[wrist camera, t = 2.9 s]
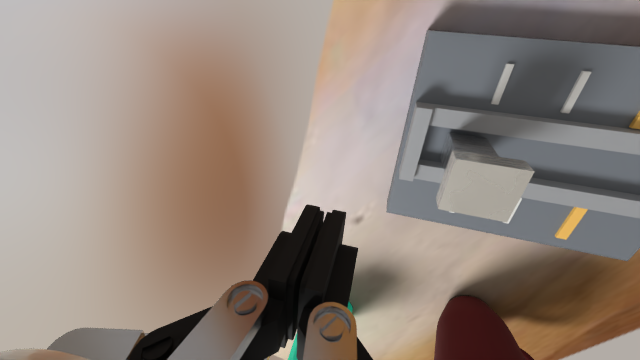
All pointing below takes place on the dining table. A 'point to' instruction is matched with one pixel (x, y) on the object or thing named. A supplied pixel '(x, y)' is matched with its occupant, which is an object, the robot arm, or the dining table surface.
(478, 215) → the fader tab
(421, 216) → the console
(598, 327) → the dining table surface
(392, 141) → the dining table surface
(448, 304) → the mug
